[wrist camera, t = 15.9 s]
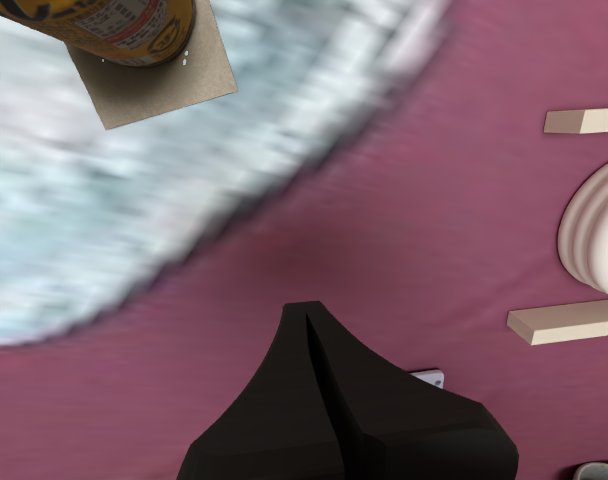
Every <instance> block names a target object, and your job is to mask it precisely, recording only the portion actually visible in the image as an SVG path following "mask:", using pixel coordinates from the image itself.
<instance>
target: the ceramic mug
mask: <svg viewBox="0 0 608 480" xmlns="http://www.w3.org/2000/svg"><path fill="white" fill-rule="evenodd" d="M573 480H608V464H607V463H601V462H590V463H585V464H583V465H581V466H580V467H578V469H577V470H576V472H575V474H574V477H573Z"/></svg>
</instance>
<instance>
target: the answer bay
mask: <svg viewBox="0 0 608 480" xmlns="http://www.w3.org/2000/svg"><path fill="white" fill-rule="evenodd" d="M543 132H549V133H595V132H608V108H602V109H585V110H568V111H551V112H547V116H546V121H545V126H544V131H543ZM506 325H508V326H509V327H510V328H511V329H512V330H514V331H515V332H516V333H517V334H518V335H520V336H521V337H522V338H523V339H524V340H526V341H527V342H528V343H529V344H530V345H536V344H544V343H552V342H559V341H567V340H575V339H583V338H590V337H598V336H606V335H608V300H600V301H591V302H583V303H574V304H566V305H557V306H549V307H541V308H532V309H524V310H515V311H509V314H508V319H507V324H506Z"/></svg>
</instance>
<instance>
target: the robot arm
mask: <svg viewBox="0 0 608 480" xmlns="http://www.w3.org/2000/svg"><path fill="white" fill-rule="evenodd" d="M443 382H444V374H443V373H442V372H441V370H431V371H423V372H416V373H408V372H406V371H404V370H402V369H401V368H399V367H397V366H395V365H393V364H392V363H390V362H389V361H387V360H385V359H384V358H382V357H381V356H379V355H378V354H376V353H375V352H374V351H372V350H371V349H369V348H368V347H367V346H365V345H364V344H363V343H362V342H360V341H359V340H358V339H357V338H356V337H355V336H353V335H352V334H351V333H350V332H349V331H348V330H347V329H346V328H345V327H344V326H343V325H342V324H341V323H340V322H339V321H338V320H337V319H336V318H335V317H334V316H333V315H332V314H331V313H330V312H329V311H328V310H327V309H326V307H325V306H324V305H323V304H322V303H321V302H320V301H310V302H299V303H289V304H285V305H284V306H283V312H282V317H281V321H280V324H279V327H278V329H277V332H276V335H275V337H274V340H273V342H272V344H271V346H270V348H269V350H268V352H267V354H266V356H265V358H264V360H263V362H262V363H261V365H260V367H259V368H258V370H257V371H256V373H255V374H254V376H253V377H252V379H251V380H250V382H249V383H248V384H247V386H246V387H245V389H244V390H243V391H242V392H241V394H240V395H239V396H238V397H237V399H236V400H235V401H234V402H233V403H232V404H231V405H230V406H229V408H228V409H227V410H226V411H225V412H224V413H223V414H222V416H221V417H220V418H219V419H218V420H217V421H216V422H215V423H214V424H213V425H211V426H210V427H209V428H208V429H207V430H206V431H205V432H204V433H203V434H202V435H201V436H200V437H199V438H198V439H196V440H195V441H194V442H193V443H192V444H191V445H190V447H189V449H188V451H187V454H186V456H185V458H184V461H183V463H182V465H181V468H180V471H179V473H178V476H177V479H176V480H515V477H516V473H517V469H518V460H519V454H518V451H517V448H516V445H515V444H514V443H513V441H512V440H511V439H510V437H509V436H508V435H507V434H506V432H505V431H504V429H503V428H502V427H501V426H500V424H499V423H498V422H497V420H496V419H495V418H494V417H493V416H492V415H491V414H490V412H489V411H488V410H487V409H486V408H485V407H484V406H483V405H482V403H479V402H476V401H473V400H471V399H468V398H465V397H463V396H460V395H457V394H454V393H452V392H449V391H446V390H444V389H443Z"/></svg>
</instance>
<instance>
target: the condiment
mask: <svg viewBox="0 0 608 480" xmlns="http://www.w3.org/2000/svg"><path fill="white" fill-rule="evenodd" d="M0 16H2V17H5V18H7V19H10V20H12V21H15V22H18V23H20V24H22V25H24V26H27V27H29V28H31V29H34V30H37V31H39V32H42V33H44V34H47V35H49V36H52V37H54V38H56V39H59V40H61V41H64V43H65V45H66V46H67V49H68V51H69V54H70V56H71V59H72V61H73V62H74V64H75V66H76V68H77V70H78V72H79V74H80V77H81V79H82V81H83V82H84V84H85V86H86V89H87V91H88V93H89V95H90V97H91V100H92V102H93V104H94V107H95V109H96V112H97V114H98V115H99V117H100V119H101V121H102V123H103V126H104V128H105V130H107V129H111V128H114V127H118V126H120V125H125V124H128V123H131V122H135V121H138V120H142V119H145V118H148V117H152V116H156V115H159V114H162V113H165V112H169V111H172V110H175V109H179V108H183V107H186V106H189V105H192V104H195V103H199V102H202V101H205V100H209V99H212V98H215V97H219V96H222V95H225V94H229V93H232V92H235V91H238V90H237V86H236V83H235V80H234V77H233V74H232V71H231V68H230V65H229V62H228V59H227V56H226V53H225V49H224V46H223V43H222V41H221V37H220V34H219V31H218V28H217V25H216V21H215V18H214V15H213V12H212V9H211V6H210V3H209V0H0ZM186 51H188V55H187V56H185V54H184V53H185V52H186ZM102 59H104V62H103V61H102ZM184 59H186V60H187V61H186V64H185V65H182V64H183V60H184Z"/></svg>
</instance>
